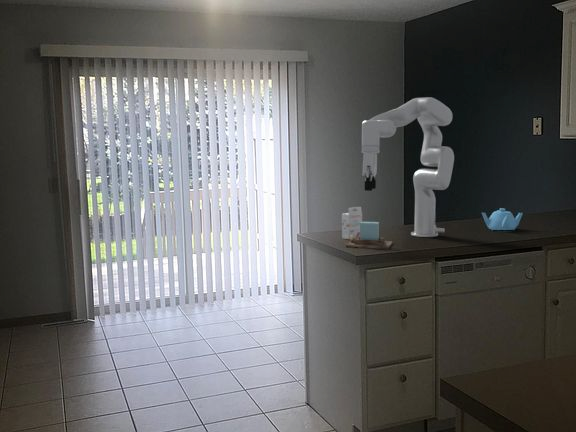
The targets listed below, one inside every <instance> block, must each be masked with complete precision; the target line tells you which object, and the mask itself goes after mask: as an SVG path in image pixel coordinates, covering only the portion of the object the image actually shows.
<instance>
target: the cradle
mask: <svg viewBox="0 0 576 432" xmlns="http://www.w3.org/2000/svg"><path fill="white" fill-rule="evenodd" d="M392 245H393V241H391V240H385V237H382V236H379V240H362V239H360V236H358V237H357V238H355V239H354V235H351V236H350V239H349V242H348V243H346V244H345V248H354V247H358V248H361V249H377V250H378V249H382V250H388V249H390V248H391V246H392Z"/></svg>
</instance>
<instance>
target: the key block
mask: <svg viewBox="0 0 576 432" xmlns="http://www.w3.org/2000/svg"><path fill="white" fill-rule="evenodd" d="M379 235H380V222H379V221H362V222H361V223H360V239H362V240H379V237H380V236H379Z"/></svg>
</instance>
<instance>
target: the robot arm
mask: <svg viewBox="0 0 576 432" xmlns="http://www.w3.org/2000/svg"><path fill="white" fill-rule="evenodd" d="M416 119H417V122H418V123H419V125H420V127H421V129H422V132H423V142H422V148H421V152H420V162H421V164H422V165H423V166H425V167H433V168H419V169H417V170H416V171H415V172H414V174H413V177H412V180H413V181H412V182H413V187H414V231H411V232H410V235H411V236H413V237H418V238H419V237H420V238H434V237H438V236H439V233H445V228H444V227H442V228H441V227H437V225H436V202H437V201H436V196H435V195H436V194H435V192H434V191H433V190H436V191H444V190H447V188H449V185H450V183H451V179H452V173H453V168H454V162H455V154H454V151H453V149H452V148H451V147H450V146H443V145H442V143H443V133H442V132H441V130H440V128H439V127H445V126H448V125H450V124H451V122H452V121H453V112H452V110H451V109H450V108H449V107H448V106H446V105H445V104H444V103H443V102H441V101H440V100H438V99H436V98H435V97H428V96H427V97H415V98H412V99H411V100H409V101H406V103H404V104H402V105H400V106H399V107H397V108H394V109H391V110H389V111H386V112H382V113H380V114H377V115H375V116H374V117H371V118H370V119H368V120H363V121H362V122H361V154H363V156H362V174H361V175H362V177H364V191H367V192H368V191H370V192H371V191H373V189H374V190H375V189H376V187H377V185H376V183H377V177H376V176H377V172H378V170H377V167H378V154H379V153H380V144H381V143H380V138H390V137H391V138H392V137H393V136H394V135H395V133H396V131H397V128H399V127H400V128H401V127H404V126H407V125H408V124H410V123H412V122H413V121H415V120H416ZM434 167H436V168H434Z"/></svg>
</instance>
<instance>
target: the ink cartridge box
mask: <svg viewBox="0 0 576 432" xmlns="http://www.w3.org/2000/svg"><path fill="white" fill-rule="evenodd" d="M347 210H348V212H345V213H341V239H345V240H350V236H351V235H354V240H355V239H356V238H357V237H358V236H360V223H361V222H363V212H362V211H363V210H362V206H353V207H348V209H347Z"/></svg>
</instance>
